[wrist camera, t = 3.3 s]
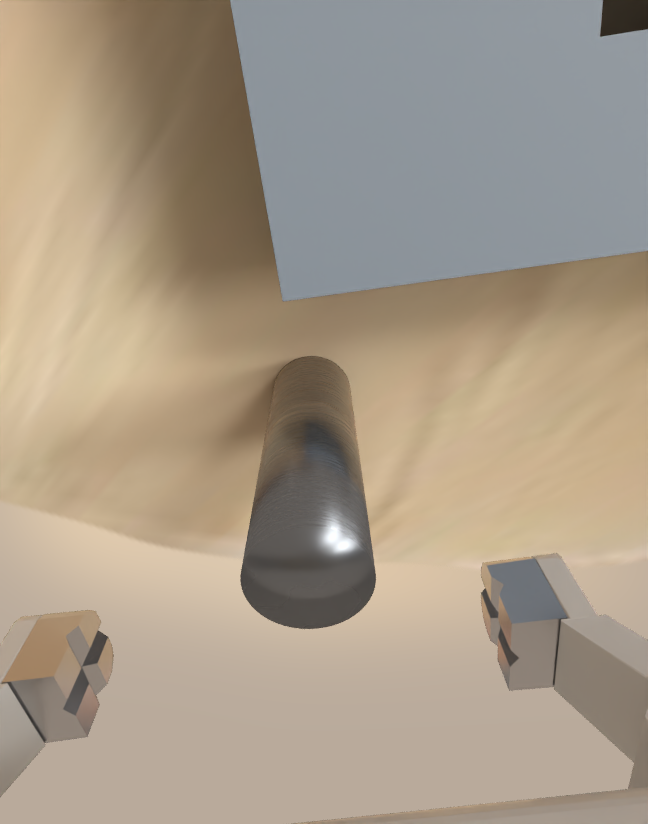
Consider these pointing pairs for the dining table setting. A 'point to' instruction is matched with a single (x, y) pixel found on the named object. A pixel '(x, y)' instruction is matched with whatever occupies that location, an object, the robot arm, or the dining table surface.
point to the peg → (309, 505)
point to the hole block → (443, 137)
